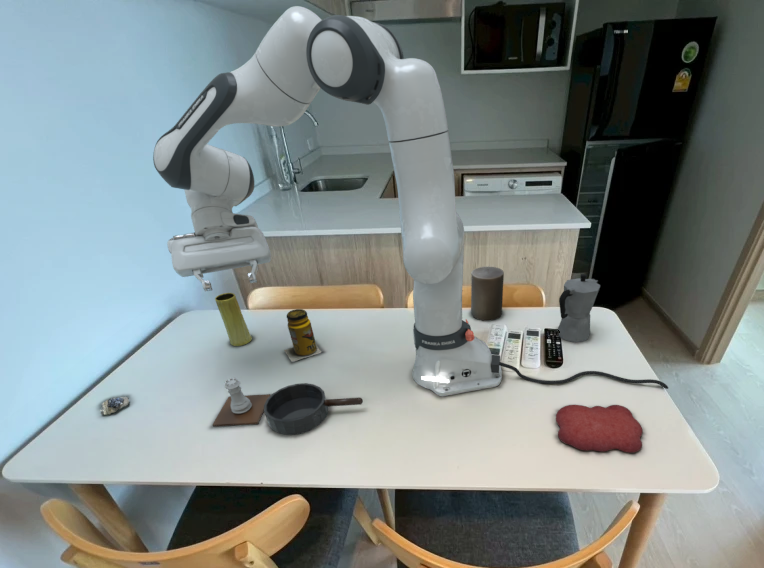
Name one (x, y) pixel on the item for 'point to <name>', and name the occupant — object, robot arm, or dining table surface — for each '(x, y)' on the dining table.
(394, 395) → the dining table surface
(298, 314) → the condiment
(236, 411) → the rook chess piece
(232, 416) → the plate
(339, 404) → the pan handle
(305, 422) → the pan
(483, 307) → the pillar candle
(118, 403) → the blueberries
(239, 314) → the vase
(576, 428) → the patty
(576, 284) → the coffeepot
